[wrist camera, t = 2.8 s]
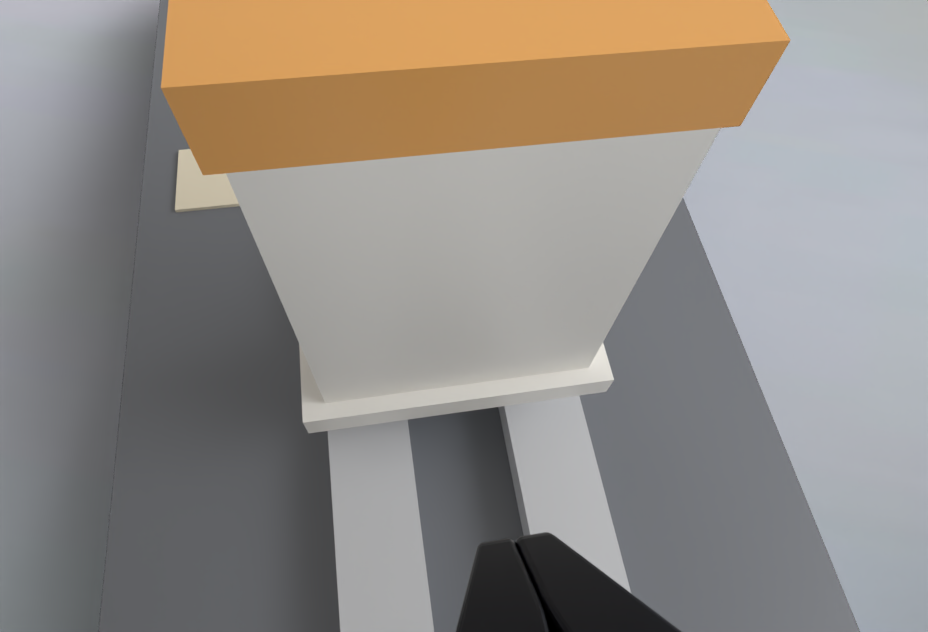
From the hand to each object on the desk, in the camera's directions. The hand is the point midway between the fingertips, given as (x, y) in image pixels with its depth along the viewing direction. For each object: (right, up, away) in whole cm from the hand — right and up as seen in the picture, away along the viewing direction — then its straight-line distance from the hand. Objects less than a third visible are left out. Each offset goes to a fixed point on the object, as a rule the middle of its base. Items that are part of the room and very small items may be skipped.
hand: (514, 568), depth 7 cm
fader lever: (-1, +2, +7) cm, 7 cm away
